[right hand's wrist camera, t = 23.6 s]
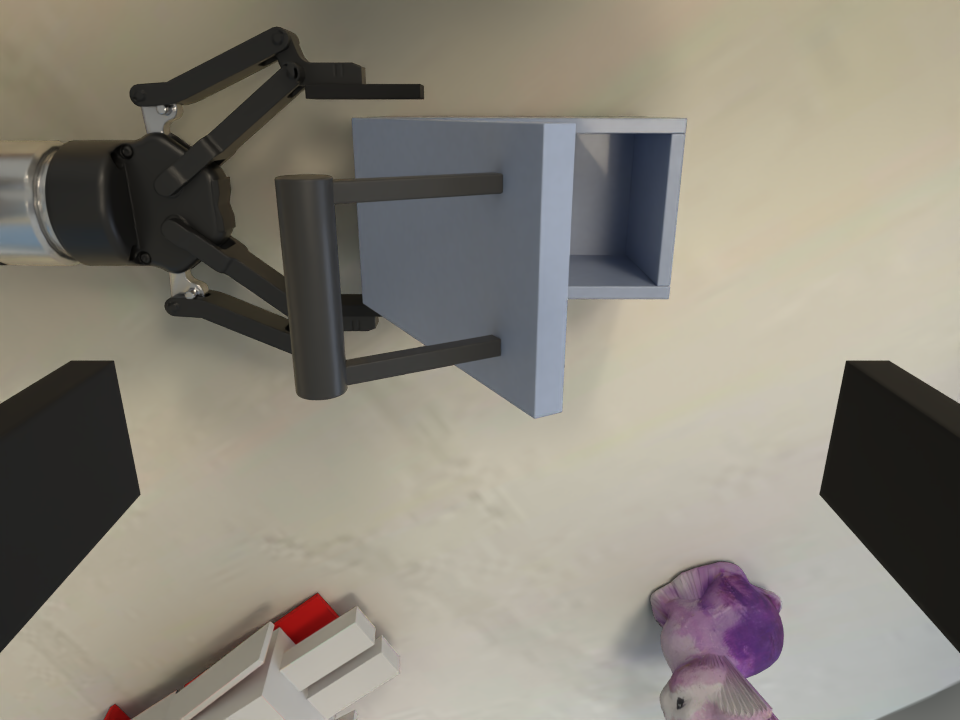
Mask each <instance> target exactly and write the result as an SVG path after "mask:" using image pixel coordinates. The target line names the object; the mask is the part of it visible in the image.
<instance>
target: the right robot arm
mask: <svg viewBox="0 0 960 720" xmlns="http://www.w3.org/2000/svg"><path fill="white" fill-rule="evenodd" d="M139 496H140V489H139V484H138V479H137V474H136V469H135V464H134V459H133V454H132V449H131V444H130V439H129V434H128V429H127V424H126V419H125V414H124V409H123V404H122V399H121V394H120V389H119V384H118V379H117V374H116V369H115V364H114V361H70V362H68V363H66V364H65V365H63V366H62V367H60V368H58V369H57V370H55V371H53V372H52V373H50V374H48V375H47V376H45V377H44V378H42V379H40V380H39V381H37V382H35V383H34V384H32V385H30V386H29V387H27V388H26V389H24V390H22V391H21V392H19V393H17V394H16V395H14V396H12V397H11V398H9V399H7V400H6V401H4V402H3V403H1V404H0V653H1V651H2V650H3V649H4V648H5V647H6V646H7V645H8V644H9V642H10V641H11V640H12V639H13V638H14V637H15V636H16V635H17V633H18V632H19V631H20V630H21V629H22V628H23V627H24V625H25V624H26V623H27V622H28V621H29V620H30V619H31V618H32V616H33V615H34V614H35V613H36V612H37V611H38V610H39V609H40V607H41V606H42V605H43V604H44V603H45V602H46V601H47V600H48V598H49V597H50V596H51V595H52V594H53V593H54V592H55V590H56V589H57V588H58V587H59V586H60V585H61V584H62V583H63V581H64V580H65V579H66V578H67V577H68V576H69V575H70V574H71V572H72V571H73V570H74V569H75V568H76V567H77V566H78V564H79V563H80V562H81V561H82V560H83V559H84V558H85V557H86V555H87V554H88V553H89V552H90V551H91V550H92V549H93V548H94V546H95V545H96V544H97V543H98V542H99V541H100V540H101V539H102V537H103V536H104V535H105V534H106V533H107V532H108V531H109V529H110V528H111V527H112V526H113V525H114V524H115V523H116V522H117V520H118V519H119V518H120V517H121V516H122V515H123V514H124V513H125V511H126V510H127V509H128V508H129V507H130V506H131V505H132V504H133V502H134V501H135V500H136V499H137V498H138V497H139ZM820 496H821V497H822V498H823V499H824V500H825V501H826V502H827V504H828V505H829V506H830V507H831V508H832V509H833V510H834V511H835V513H836V514H837V515H838V516H839V517H840V518H841V519H842V520H843V522H844V523H845V524H846V525H847V526H848V527H849V528H850V529H851V531H852V532H853V533H854V534H855V535H856V536H857V537H858V539H859V540H860V541H861V542H862V543H863V544H864V545H865V546H866V548H867V549H868V550H869V551H870V552H871V553H872V554H873V555H874V557H875V558H876V559H877V560H878V561H879V562H880V563H881V565H882V566H883V567H884V568H885V569H886V570H887V571H888V572H889V574H890V575H891V576H892V577H893V578H894V579H895V580H896V581H897V583H898V584H899V585H900V586H901V587H902V588H903V589H904V590H905V592H906V593H907V594H908V595H909V596H910V597H911V598H912V600H913V601H914V602H915V603H916V604H917V605H918V606H919V607H920V609H921V610H922V611H923V612H924V613H925V614H926V615H927V616H928V618H929V619H930V620H931V621H932V622H933V623H934V624H935V625H936V627H937V628H938V629H939V630H940V631H941V632H942V633H943V635H944V636H945V637H946V638H947V639H948V640H949V641H950V642H951V644H952V645H953V646H954V647H955V648H956V649H957V650H958V651H959V653H960V404H959V403H957V402H956V401H954V400H952V399H951V398H949V397H948V396H946V395H944V394H943V393H941V392H939V391H938V390H936V389H934V388H933V387H931V386H930V385H928V384H926V383H925V382H923V381H921V380H920V379H918V378H916V377H915V376H913V375H912V374H910V373H908V372H907V371H905V370H903V369H902V368H900V367H898V366H897V365H895V364H894V363H892V362H890V361H846V364H845V369H844V374H843V379H842V384H841V389H840V394H839V399H838V404H837V409H836V414H835V419H834V424H833V429H832V434H831V439H830V444H829V449H828V454H827V459H826V464H825V469H824V474H823V479H822V484H821V489H820Z"/></svg>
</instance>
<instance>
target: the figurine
mask: <svg viewBox="0 0 960 720" xmlns="http://www.w3.org/2000/svg"><path fill="white" fill-rule="evenodd" d="M650 601H651V604H652V605H651V606H652V609H653V610H652V611H653V615H654V618H655V619H656V621H657V622H658V623H659V625H660V626H661V627H663V629H662V632H661V647H662V651H663V654H664V657H665V659H666V661H667V663H668V665H669V667H670V669H671V671H672V673H673V674H672V676H671V678H670V680H669V681H668V683H667V684H666V685H665V687H664V688H663V690H662V692H661V694H660V704H661V708H662V710H663V713H664V716H665V718H666V720H778V718H777V717H776V716H775V715H774V714H773V713H772V708H771V707H770V705H769V704H768V703H767V702H766V701H765V700H764V699H763V697H762V696H761V695H760V694H759V693H758V692H757V691H756V689H755V688H754V687H753V686H752V685H751V684H750V683H749V681H748V680H747V679H746V678H748V677H750V676H753V675H756V674H758V673H760V672H762V671H763V670H765V669H767V668H768V667H770V666H771V665H772V664H773V663H774V662H775V661H776V660H777V659H778V658H779V656H780V654H781V651H782V647H783V639H784V632H783V625H782V621H781V618H780V616H779V612H780V610H781V608H782V601H781V599H780V597H779V596H778V595H776V594H775V593H773V592H771V591H768V590H765V589H762V588H759V587H756V586H754V585H752V584H750V583H749V581H748V579H747V577H746V575H745V574H744V572H743V571H742V569H741V568H740V567H739V566H737V565H735V564H733V563H728V562H716V563H713V564H708V565H704V566H700V567H696V568H693V569H690V570H688V571H685V572H682V573H681V574H680V575H679V576H677V577H676V578H675V579H674V580H673V581H672V582H671V583H669V584H667V585H666V586H663V587H662V588H659V589H658V590H656V591H655V592H654V593H652V595H651V598H650Z"/></svg>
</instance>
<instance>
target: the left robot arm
mask: <svg viewBox="0 0 960 720" xmlns="http://www.w3.org/2000/svg"><path fill="white" fill-rule="evenodd" d="M277 61H278V62H279V64H280V67H281V69H280V70H279V71H277V72H276V73H275V74H274V75H273V76H272V77H271V78H270V79H269V80H268V81H266V82H265V83H264V84H263V85H262V86H261V87H260V88H259V89H258V90H257V91H255V92H254V93H253V94H252V95H251V96H250V97H249V98H248V99H247V100H246V101H245V102H243V103H242V104H241V105H240V106H239V107H238V108H237V109H236V110H235V111H234V112H232V113H231V114H230V115H229V116H228V117H227V118H226V119H225V120H224V121H223V122H221V123H220V124H219V125H218V126H217V127H216V128H215V129H214V130H213V131H212V132H210V133H209V134H208V135H207V136H205V137H203V138H202V139H200V140H199V141H198V142H197V143H195V144H194V145H193V146H190V145H189V144H187V143H186V142H184V141H183V140H181V139H180V138H179V137H177V136H176V135H174V134H172V133H170V125H171V123H172V122H173V121H175V120H177V119H179V118H181V116H182V115H183V106H182V105H188V104H192V103H195V102H198V101H200V100H202V99H204V98H206V97H208V96H210V95H212V94H214V93H216V92H218V91H220V90H222V89H224V88H226V87H228V86H230V85H232V84H234V83H236V82H238V81H240V80H242V79H244V78H246V77H248V76H250V75H252V74H254V73H256V72H258V71H260V70H262V69H264V68H266V67H268V66H270V65H271V64H273V63H275V62H277ZM304 89H305V94H306V99H424V86H423V85H421V84H366V77H365V68H364V67H362V66H359V65H357V64H354V63H310V62H309V61H307V59H306V58H305V57H304V55H303V53H302V51H301V48H300V46H299V39H298V37H297V36H296V35H295V34H294V33H292V32H290V31H288V30H286V29H283V28H281V27H273V28H271V29H269V30H267V31H265V32H263V33H261V34H259V35H257V36H255V37H253V38H251V39H249V40H247V41H245V42H244V43H242V44H240V45H238V46H236V47H234V48H232V49H230V50H228V51H226V52H224V53H222V54H220V55H218V56H216V57H214V58H213V59H211V60H209V61H207V62H205V63H203V64H201V65H199V66H197V67H195V68H193V69H191V70H189V71H187V72H185V73H183V74H181V75H180V76H178V77H176V78H174V79H172V80H170V81H168V82H161V83H148V84H137V85H134V86H133V87H132V88H131V90H130V98H131V100H132V102H133V103H134V104H135V105H137V106H140V107H141V109H142V113H143V118H144V122H145V127H146V131H147V134H146V135H145V136H143V137H142V138H140V139H138V140H74V141H69V142H67V143H63V142H61V141H6V140H0V265H28V266H73V265H79V264H80V263H82V264H85V265H90V266H156V267H159V268H161V269H164V270H165V271H167V272H169V276H170V287H171V298H169V299H168V300H167V301H166V302H165V310H166V311H167V312H168V313H169V314H170V315H172V316H180V317H196V318H203V319H206V320H208V321H211V322H213V323H216V324H218V325H221V326H223V327H226V328H228V329H231V330H233V331H236V332H238V333H241V334H243V335H246V336H248V337H251V338H253V339H256V340H258V341H261V342H263V343H266V344H268V345H271V346H273V347H276V348H278V349H281V350H283V351H286V352H288V353H291V354H292V347H291V337H290V327H289V319H286V318H284V317H281V316H279V315H277V314H274V313H272V312H269V311H267V310H264V309H262V308H259V307H257V306H254V305H252V304H250V303H247V302H245V301H242V300H240V299H237V298H235V297H232V296H230V295H227V294H225V293H222V292H218V291H214V290H208V285H207V284H206V283H204V282H203V281H200V280H197V279H195V278H194V277H193V276H192V274H191V271H190V269H192V268H194V267H195V266H196V265H197V264H199V263H200V262H201V261H202V262H204V263H205V264H207V265H208V266H210V267H211V268H213V269H214V270H216V271H217V272H220V273H224V274H227V275H228V276H230V277H231V278H233V279H234V280H236V281H237V282H238V283H240V284H241V285H243V286H244V287H246V288H247V289H249V290H250V291H252V292H253V293H254V294H256V295H257V296H259V297H260V298H262V299H263V300H265V301H266V302H268V303H269V304H270V305H272V306H273V307H275V308H276V309H278V310H279V311H281V312H282V313H283V314H285V315H286V316H288V307H287V297H286V287H285V277H284V276H283V275H282V274H280V273H279V272H277V271H276V270H274V269H273V268H272V267H270V266H269V265H267V264H266V263H264V262H263V261H262V260H260V259H259V258H257V257H256V256H255V255H253V254H252V253H250V252H249V251H248V249H247V247H246V246H245V245H243V244H242V243H241V242H239V241H238V240H236V239H235V238H233V237H232V236H231V234H232V230H233V228H234V227H236V225H235V217H234V213H233V210H232V208H231V205H230V202H229V201H230V193H231V185H230V177H226V175H225V173H224V171H223V170H222V168H221V167H220V166H221V165H222V164H223V163H224V162H226V161H227V160H228V159H229V158H230V157H231V156H232V155H233V154H234V153H235V152H236V150H237V149H238V148H239V147H240V146H241V145H242V144H244V143H245V142H246V141H247V140H248V139H249V138H250V137H251V136H253V135H254V134H255V133H256V132H257V131H258V130H259V129H260V128H261V127H263V126H264V125H265V124H266V123H267V122H268V121H269V120H270V119H272V118H273V117H274V116H275V115H276V114H277V113H278V112H279V111H281V110H282V109H283V108H284V107H285V106H286V105H287V104H288V103H289V102H291V101H292V100H293V99H294V98H295V97H296V96H297V95H298V94H300V93H301V92H302V91H303V90H304ZM341 304H342V318H343V331H369V330H372V329H374V328H376V326H377V324H378V322H379V319H378V317H383V316H381V315H380V314H378V313H377V312H375V311H374V310H372V309H371V308H369V307H368V306H366V305H365V304H363V297H362V294H341Z"/></svg>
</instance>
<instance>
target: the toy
mask: <svg viewBox="0 0 960 720" xmlns="http://www.w3.org/2000/svg"><path fill="white" fill-rule="evenodd" d="M399 674H400V656H399V654H398V653H397V652H396V651H395V650H394V649H393V647H392V646H391V645H390V644H389V643H388V642H387V640H386V639H385V638H384V637H383V636H382V635H381V636H380V637H378V638H377V639H375V626H374V625H373V624H372V623H371V622H370V620H369V619H368V618H367V617H366V616H365V615H364V613H363V612H362V611H361V610H360V609H359V608H358V606H356V607H354V608H353V609H351V610H349V611H348V612H346V613H345V614H343V615H342V616H340V617H339V616H338V615H337V614H336V612H335V611H334V610H333V609H332V608H331V607H330V606H329V605H328V604H327V603H326V602H325V600H324V599H323V598H322V597H321V596H320V595H319V594H318V593H317V594H315V595H314V596H313V597H311V598H310V599H308V600H307V601H305V602H304V603H303V604H301V605H300V606H298V607H297V608H295V609H294V610H292V611H291V612H290V613H288V614H287V615H285V616H284V617H282V618H281V619H279V620H278V621H277V622H275V623H274V624H273V623H272V622H271V621H270V622H268V623H267V624H266V625H264V626H263V627H262V628H261V629H259V630H258V631H257V632H255V633H254V634H253V635H252V636H250V637H249V638H248V639H246V640H245V641H244V642H243V643H241V644H240V645H239V646H237V647H236V648H235V649H233V650H232V651H231V652H230V653H228V654H227V655H226V656H224V657H223V658H222V659H221V660H219V661H218V662H217V663H215V664H214V665H213V666H212V667H210V668H209V669H207V670H206V671H204V672H203V673H202V674H200V675H199V676H197V677H196V678H194V679H193V680H191V681H190V682H189V683H187V684H186V685H185V686H184V688H183V689H182V690H180V691H179V692H178V691H177V690H176V691H174V692H173V693H171V694H170V695H168V696H167V697H165V698H164V699H162V700H160V701H159V702H157V703H156V704H154V705H153V706H151V707H150V708H148V709H146V710H145V711H143V712H142V713H140V714H139V715H137V716H136V717H134V718H132V719H130V718H129V717H128V716H127V715H126V714H125V713H124V712H123V711H122V710H121V709H120V708H119V707H118V706H117V705H116V704H114V705H113V706H111V707H110V709H109V711H108V713H107V715H106V716H105V718H104V720H335V717H336V714H337V713H338V712H340V711H341V710H343V709H345V708H346V707H348V706H349V705H351V704H353V703H354V702H356V701H357V700H359V699H361V698H362V697H364V696H365V695H367V694H368V693H370V692H372V691H373V690H375V689H376V688H378V687H380V686H381V685H383V684H384V683H386V682H387V681H389V680H391V679H392V678H394V677H395V676H397V675H399ZM357 719H358V714H357V712H356V711H355V710H354V711H352V712H350V713H348V714H346V715H344V716H342V717H340V718H338V719H336V720H357Z"/></svg>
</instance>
